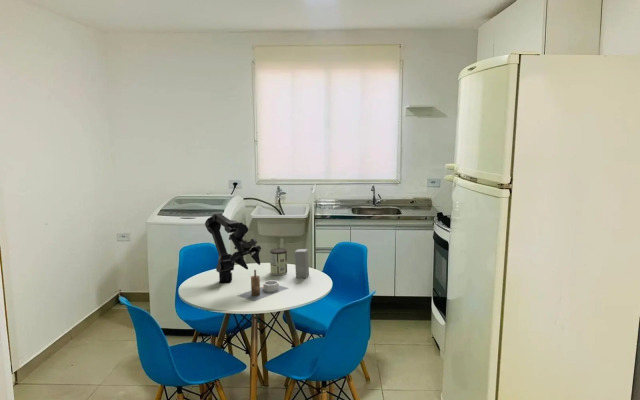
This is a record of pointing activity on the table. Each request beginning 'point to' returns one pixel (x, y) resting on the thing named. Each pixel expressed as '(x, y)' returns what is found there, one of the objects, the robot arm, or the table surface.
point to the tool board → (264, 290)
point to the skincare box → (301, 263)
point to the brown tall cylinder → (255, 285)
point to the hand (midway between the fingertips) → (253, 266)
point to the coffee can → (278, 261)
